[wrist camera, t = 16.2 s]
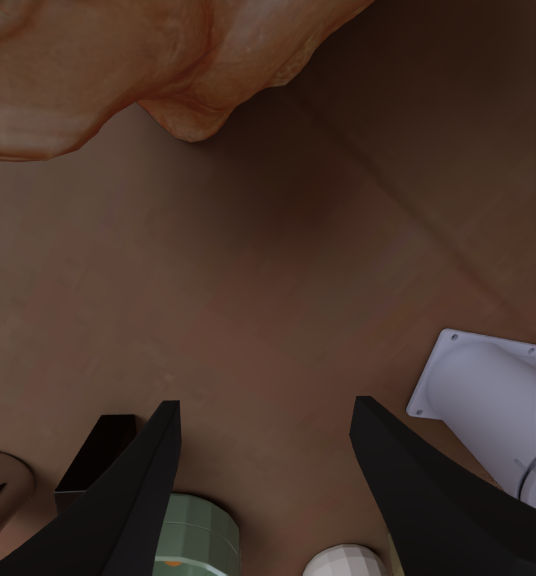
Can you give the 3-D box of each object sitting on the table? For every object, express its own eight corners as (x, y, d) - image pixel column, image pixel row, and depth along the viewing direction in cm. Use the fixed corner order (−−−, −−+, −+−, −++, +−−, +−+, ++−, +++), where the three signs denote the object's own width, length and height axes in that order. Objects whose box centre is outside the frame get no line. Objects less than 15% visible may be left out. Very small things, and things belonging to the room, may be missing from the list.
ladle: (153, 563, 27) (130, 669, 21) (111, 566, 27) (74, 675, 21) (143, 413, 23) (109, 493, 17) (92, 414, 22) (38, 496, 16)
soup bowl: (253, 492, 27) (257, 559, 22) (226, 585, 30) (224, 658, 26) (96, 482, 24) (63, 553, 20) (89, 583, 28) (59, 663, 24)
